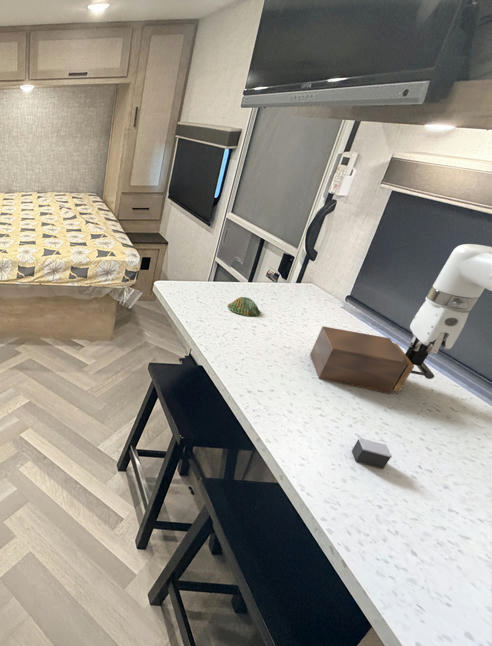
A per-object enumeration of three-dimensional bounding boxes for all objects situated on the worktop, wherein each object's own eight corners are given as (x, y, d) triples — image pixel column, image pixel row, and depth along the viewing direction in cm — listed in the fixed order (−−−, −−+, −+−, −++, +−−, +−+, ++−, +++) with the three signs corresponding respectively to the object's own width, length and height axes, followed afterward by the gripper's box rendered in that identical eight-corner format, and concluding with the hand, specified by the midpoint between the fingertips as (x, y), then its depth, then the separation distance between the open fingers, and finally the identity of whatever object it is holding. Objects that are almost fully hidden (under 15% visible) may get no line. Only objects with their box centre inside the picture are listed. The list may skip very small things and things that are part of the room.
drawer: (409, 372, 106) (424, 348, 102) (427, 398, 97) (444, 372, 93) (323, 355, 114) (334, 332, 110) (332, 377, 105) (344, 352, 101)
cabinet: (373, 367, 110) (389, 338, 105) (389, 394, 100) (408, 362, 95) (309, 354, 116) (322, 326, 111) (318, 378, 106) (333, 348, 101)
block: (377, 457, 82) (386, 444, 80) (383, 469, 79) (392, 456, 78) (351, 450, 84) (358, 437, 82) (355, 461, 81) (363, 448, 80)
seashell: (232, 302, 136) (230, 291, 144) (228, 312, 138) (226, 301, 146) (265, 309, 133) (261, 298, 141) (260, 320, 135) (257, 308, 143)
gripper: (491, 315, 84) (444, 383, 93) (457, 288, 96) (418, 351, 105) (443, 308, 87) (402, 375, 96) (416, 283, 99) (382, 344, 108)
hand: (411, 362), depth 100 cm, fingers closed
